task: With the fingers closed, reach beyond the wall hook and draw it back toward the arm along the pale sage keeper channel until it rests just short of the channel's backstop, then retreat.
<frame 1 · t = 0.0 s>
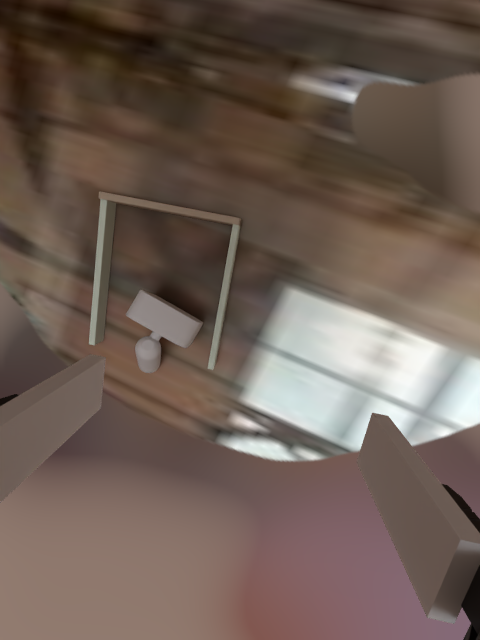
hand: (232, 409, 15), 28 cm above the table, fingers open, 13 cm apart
wall hook: (166, 332, 44), on the table
keeper channel: (165, 283, 42), on the table
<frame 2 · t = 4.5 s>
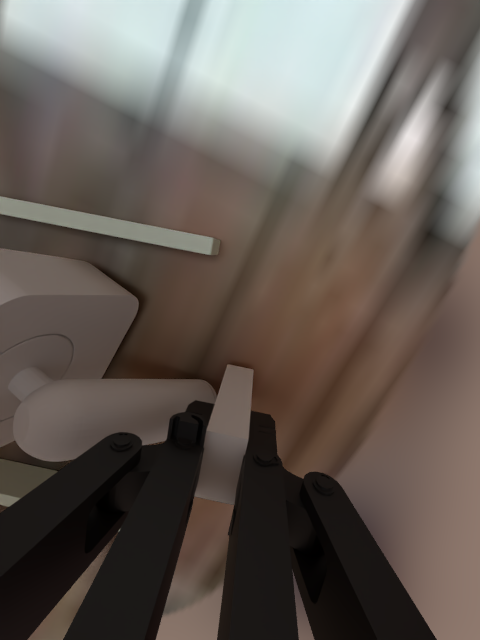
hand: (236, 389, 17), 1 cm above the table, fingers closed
wall hook: (133, 355, 19), on the table
keeper channel: (37, 354, 19), on the table
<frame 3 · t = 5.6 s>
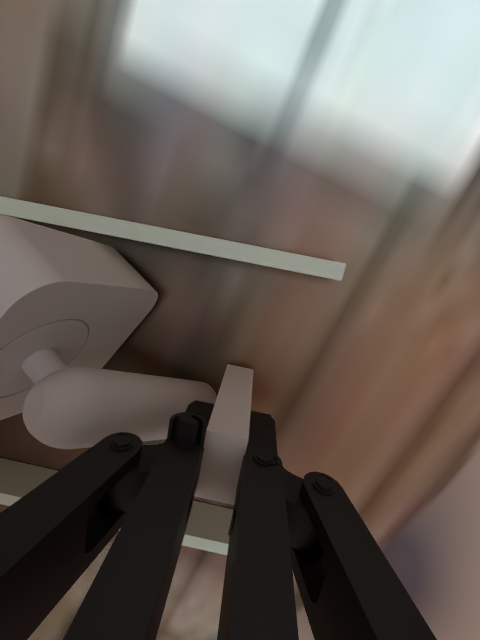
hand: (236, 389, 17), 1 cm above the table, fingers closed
wall hook: (140, 347, 18), on the table, touching gripper
keeper channel: (135, 374, 19), on the table
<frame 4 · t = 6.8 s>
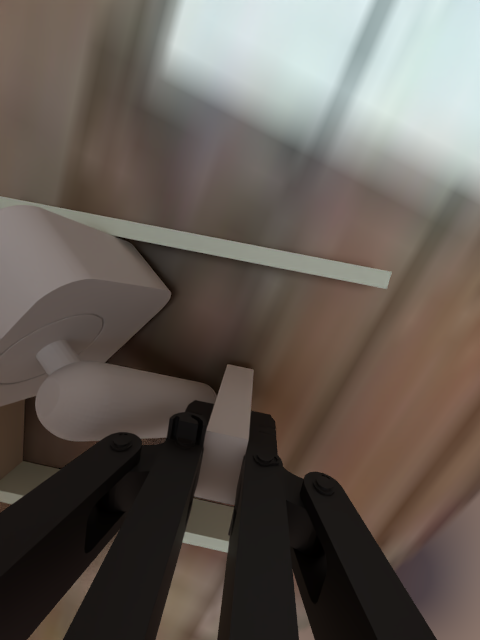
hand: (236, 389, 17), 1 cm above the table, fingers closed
wall hook: (146, 343, 19), on the table, touching gripper
keeper channel: (170, 380, 19), on the table
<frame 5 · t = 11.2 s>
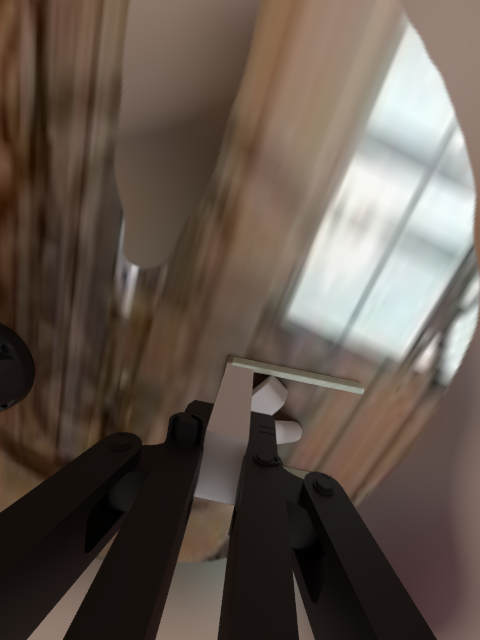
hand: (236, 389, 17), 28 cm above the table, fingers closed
wall hook: (271, 405, 48), on the table
keeper channel: (281, 420, 48), on the table
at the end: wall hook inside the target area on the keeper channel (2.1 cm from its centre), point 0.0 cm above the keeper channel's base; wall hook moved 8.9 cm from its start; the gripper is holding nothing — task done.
